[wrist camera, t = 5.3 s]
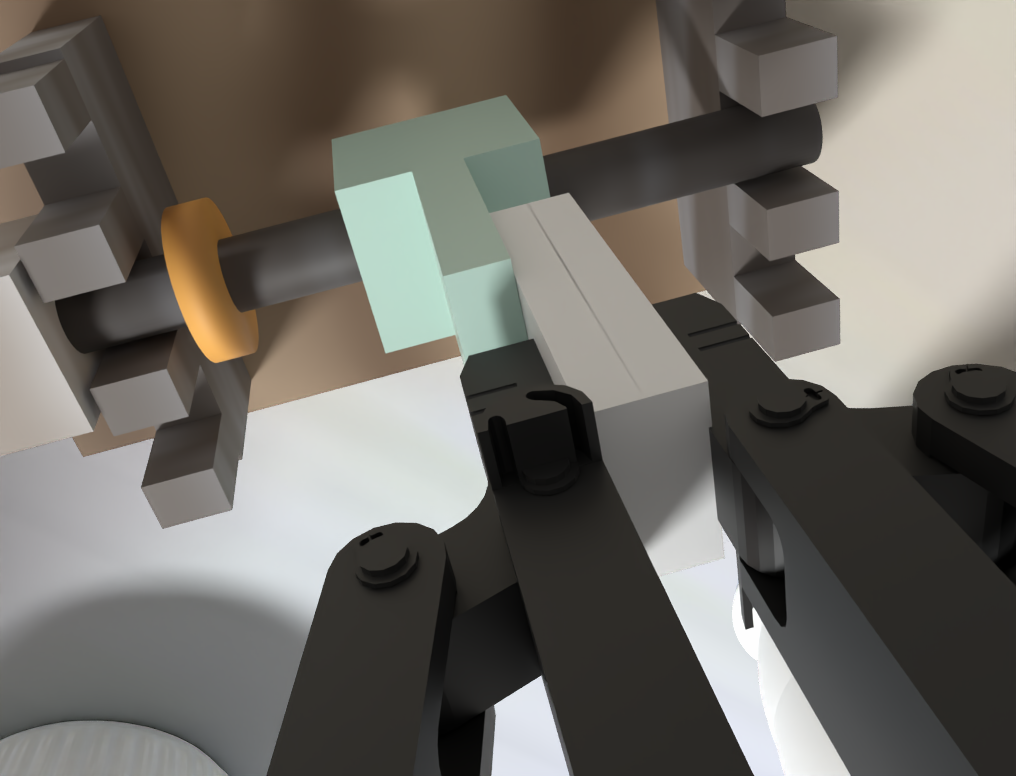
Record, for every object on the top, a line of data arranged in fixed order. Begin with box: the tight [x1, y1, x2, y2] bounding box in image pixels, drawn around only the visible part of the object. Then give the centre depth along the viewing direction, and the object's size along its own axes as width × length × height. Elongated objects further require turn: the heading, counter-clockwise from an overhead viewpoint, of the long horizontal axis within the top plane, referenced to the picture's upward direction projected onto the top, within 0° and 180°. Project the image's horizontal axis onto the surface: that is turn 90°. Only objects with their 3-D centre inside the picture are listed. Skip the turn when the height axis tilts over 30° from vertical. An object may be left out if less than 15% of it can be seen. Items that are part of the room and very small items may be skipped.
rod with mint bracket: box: [0, 0, 840, 529], centre depth 22 cm, size 20×12×8 cm, turn 102°
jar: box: [732, 584, 851, 776], centre depth 30 cm, size 11×10×15 cm
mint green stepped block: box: [332, 95, 550, 365], centre depth 18 cm, size 4×4×9 cm
